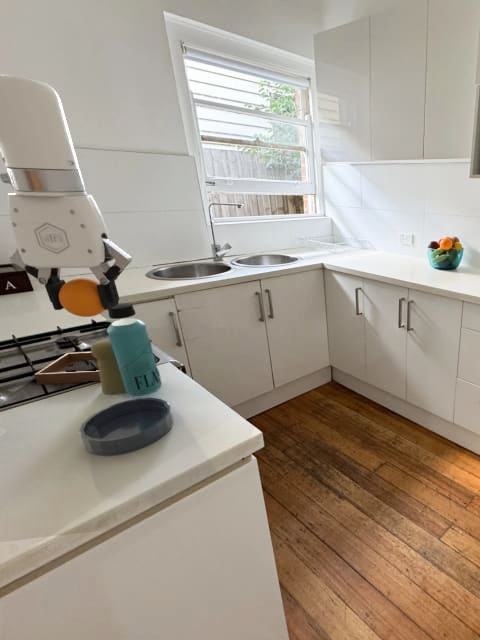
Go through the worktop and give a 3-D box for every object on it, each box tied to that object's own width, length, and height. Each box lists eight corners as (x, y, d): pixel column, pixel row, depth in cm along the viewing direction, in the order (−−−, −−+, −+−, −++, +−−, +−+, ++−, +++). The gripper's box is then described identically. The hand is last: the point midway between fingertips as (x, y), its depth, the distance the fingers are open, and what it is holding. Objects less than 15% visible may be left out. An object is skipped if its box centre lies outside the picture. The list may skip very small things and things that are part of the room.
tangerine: (56, 322, 57) (42, 283, 55) (81, 309, 63) (69, 273, 60) (101, 321, 58) (89, 283, 56) (121, 309, 64) (111, 274, 61)
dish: (67, 459, 62) (60, 444, 61) (111, 413, 74) (106, 400, 73) (155, 451, 64) (151, 437, 63) (184, 408, 76) (181, 395, 75)
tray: (37, 384, 83) (33, 374, 82) (70, 361, 93) (67, 352, 92) (105, 381, 85) (102, 371, 84) (130, 359, 95) (127, 350, 94)
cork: (142, 384, 84) (129, 339, 80) (113, 397, 79) (96, 349, 75) (125, 378, 86) (111, 333, 82) (95, 390, 81) (79, 343, 77)
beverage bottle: (138, 406, 76) (109, 312, 68) (121, 397, 79) (91, 306, 71) (171, 392, 82) (147, 303, 74) (153, 384, 85) (129, 297, 77)
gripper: (-51, 181, 48) (5, 316, 55) (103, 187, 51) (136, 314, 58) (-2, 180, 55) (42, 300, 62) (131, 185, 58) (158, 299, 65)
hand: (87, 306), depth 60 cm, fingers closed on tangerine, 6 cm apart
